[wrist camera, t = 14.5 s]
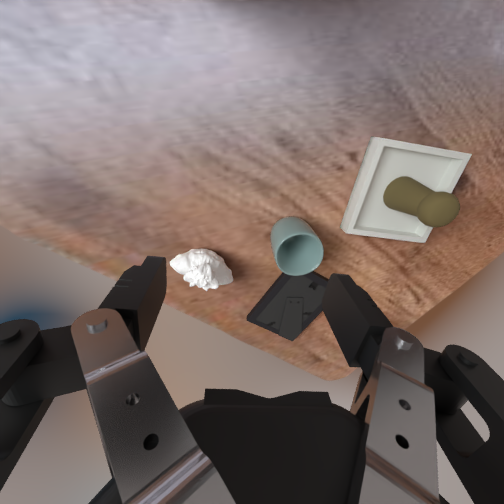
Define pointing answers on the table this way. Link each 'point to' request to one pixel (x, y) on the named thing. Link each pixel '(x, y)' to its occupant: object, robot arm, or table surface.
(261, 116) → the table surface
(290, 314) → the picture frame
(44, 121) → the table surface
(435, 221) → the olive rounded piece
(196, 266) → the bust
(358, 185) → the tray
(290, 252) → the cup
